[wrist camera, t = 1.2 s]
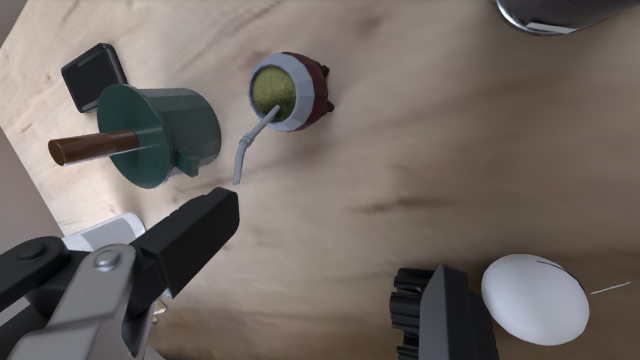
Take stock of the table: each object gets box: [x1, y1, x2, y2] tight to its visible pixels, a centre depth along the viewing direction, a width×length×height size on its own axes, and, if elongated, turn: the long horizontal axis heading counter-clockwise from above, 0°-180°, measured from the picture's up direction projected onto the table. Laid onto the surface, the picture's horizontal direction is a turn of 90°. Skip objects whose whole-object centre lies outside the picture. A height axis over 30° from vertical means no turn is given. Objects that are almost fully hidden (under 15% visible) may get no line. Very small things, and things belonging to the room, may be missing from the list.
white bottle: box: [62, 212, 145, 252], centre depth 46 cm, size 7×7×18 cm
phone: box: [61, 43, 128, 113], centre depth 43 cm, size 8×1×15 cm
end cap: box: [389, 268, 435, 360], centre depth 28 cm, size 10×7×7 cm
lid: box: [48, 84, 174, 189], centre depth 28 cm, size 13×13×8 cm
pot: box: [97, 88, 221, 178], centre depth 35 cm, size 11×17×8 cm
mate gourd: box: [233, 52, 335, 185], centre depth 22 cm, size 8×8×15 cm
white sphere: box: [481, 254, 630, 346], centre depth 22 cm, size 10×7×7 cm
